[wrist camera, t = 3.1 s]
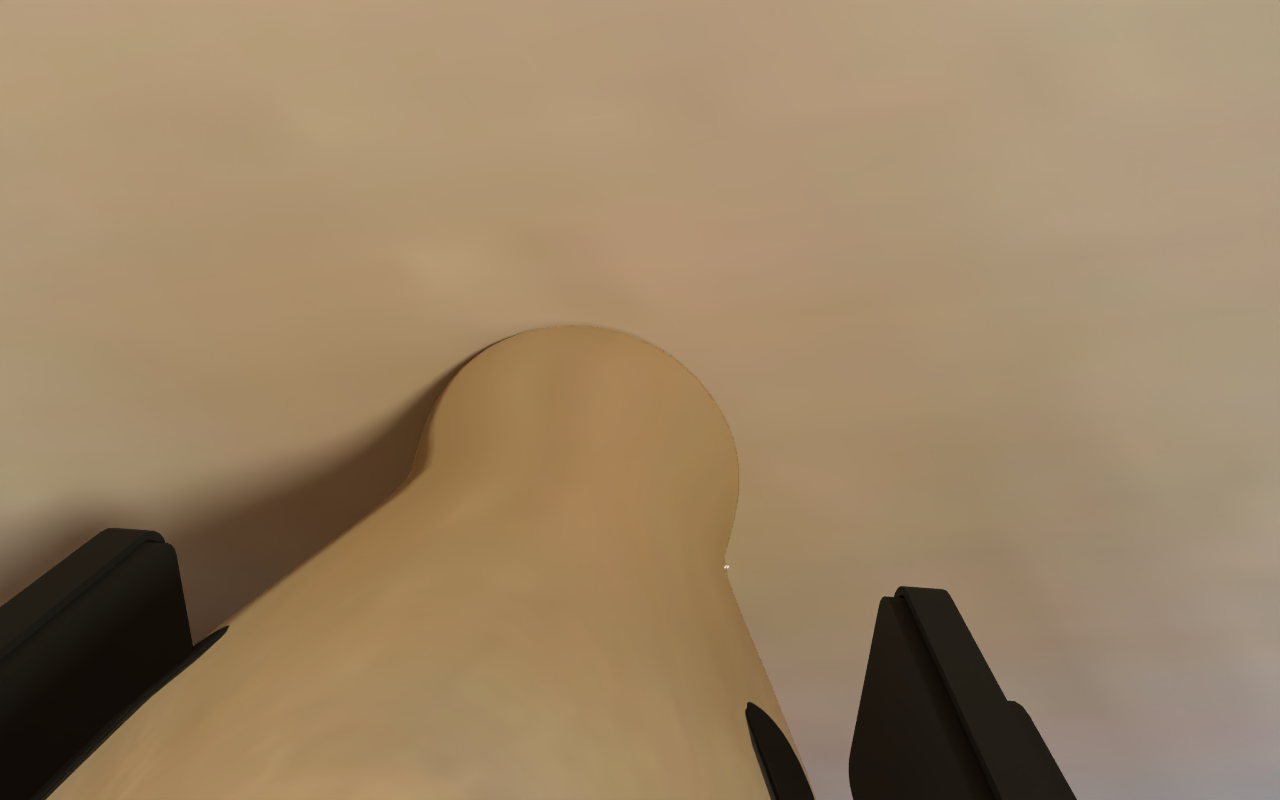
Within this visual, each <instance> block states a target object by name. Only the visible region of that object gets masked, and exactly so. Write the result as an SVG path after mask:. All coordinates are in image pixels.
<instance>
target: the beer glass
mask: <svg viewBox="0 0 1280 800" xmlns="http://www.w3.org/2000/svg"><path fill="white" fill-rule="evenodd" d="M738 496H739V463H738V456H737V450H736V446H735V442H734V438H733V435H732V433H731V430H730V427H729V425H728V423H727V421H726V419H725V417H724V415H723V413H722V411H721V410H720V408H719V406H718V405H717V403H716V402H715V400H714V399H713V397H712V396H711V394H710V393H709V392H708V390H707V389H706V388H705V387H704V385H703V384H702V383H701V382H700V381H699V380H698V379H697V377H696V376H695V375H694V374H692V373H691V372H690V371H689V370H688V369H687V368H686V367H685V366H684V365H683V364H681V363H680V362H679V361H678V360H676V359H675V358H674V357H672V356H671V355H669V354H668V353H666V352H665V351H663V350H661V349H660V348H658V347H656V346H654V345H652V344H650V343H648V342H646V341H644V340H641V339H639V338H637V337H634V336H631V335H628V334H625V333H622V332H618V331H614V330H610V329H605V328H599V327H592V326H575V325H570V326H554V327H546V328H541V329H536V330H532V331H528V332H525V333H521V334H518V335H515V336H513V337H510V338H507V339H505V340H503V341H501V342H499V343H497V344H495V345H493V346H491V347H489V348H488V349H486V350H484V351H483V352H481V353H480V354H478V355H477V356H476V357H474V358H473V359H472V360H470V361H469V362H468V363H467V364H466V365H465V366H463V367H462V368H461V369H460V370H459V371H458V372H457V373H456V374H455V376H454V377H453V378H452V379H451V380H450V381H449V383H448V384H447V385H446V387H445V388H444V389H443V391H442V392H441V394H440V395H439V397H438V399H437V400H436V402H435V403H434V405H433V407H432V409H431V411H430V413H429V415H428V418H427V421H426V423H425V426H424V428H423V431H422V434H421V437H420V441H419V444H418V447H417V451H416V454H415V458H414V461H413V465H412V468H411V470H410V472H409V475H408V476H407V478H406V479H405V481H404V482H403V483H402V484H401V485H400V487H399V488H398V489H397V490H396V491H395V492H394V493H393V494H391V495H390V496H389V497H388V498H387V499H385V500H384V501H383V502H382V503H380V504H379V505H378V506H377V507H375V508H374V509H373V510H372V511H370V512H369V513H368V514H367V515H365V516H364V517H363V518H361V519H360V520H359V521H357V522H356V523H355V524H353V525H352V526H350V527H349V528H348V529H346V530H345V531H344V532H342V533H341V534H340V535H338V536H337V537H335V538H334V539H333V540H331V541H330V542H329V543H327V544H326V545H325V546H323V547H322V548H321V549H319V550H318V551H316V552H315V553H314V554H312V555H311V556H310V557H308V558H307V559H306V560H304V561H303V562H302V563H300V564H299V565H298V566H296V567H295V568H294V569H292V570H291V571H290V572H289V573H287V574H286V575H285V576H283V577H282V578H281V579H279V580H278V581H277V582H275V583H274V584H273V585H271V586H270V587H269V588H267V589H266V590H265V591H264V592H262V593H261V594H260V595H258V596H257V597H256V598H254V599H253V600H252V601H250V602H249V603H248V604H246V605H245V606H244V607H242V608H241V609H240V610H239V611H237V612H236V613H235V614H233V615H232V616H231V617H229V618H228V619H227V620H225V621H224V622H223V623H221V624H220V625H219V626H218V627H216V628H215V629H214V630H213V631H211V632H210V633H209V634H208V635H207V636H205V637H204V638H203V639H202V640H201V641H200V642H198V643H197V644H196V645H195V646H194V647H193V648H191V649H190V650H189V651H188V652H187V653H186V654H184V655H183V656H182V657H181V658H180V659H178V660H177V661H176V662H175V663H174V664H173V665H171V666H170V667H169V668H168V669H167V670H166V671H164V672H163V673H162V674H161V675H160V676H159V677H157V678H156V679H155V680H154V681H153V682H151V683H150V684H149V685H148V686H147V687H146V688H144V689H143V690H142V691H141V692H140V693H139V694H137V695H136V696H135V697H134V698H133V699H132V700H130V701H129V702H128V703H127V704H126V705H125V706H123V707H122V708H121V709H120V710H119V711H117V712H116V713H115V714H114V715H113V716H112V717H110V718H109V719H108V720H107V721H106V722H105V723H103V724H102V725H101V726H100V727H99V728H98V729H96V730H95V731H94V732H93V733H92V734H90V735H89V736H88V737H87V738H86V739H85V740H83V741H82V742H81V743H80V744H79V745H78V746H77V747H76V748H75V749H74V750H72V751H71V752H70V753H69V754H68V755H67V756H66V757H65V758H64V759H63V760H62V761H61V762H60V763H59V764H58V765H57V766H56V767H55V768H54V769H53V770H52V771H51V772H50V773H49V774H48V775H47V776H46V777H45V778H44V779H43V780H42V781H41V782H40V783H39V784H38V785H37V786H36V787H35V788H34V789H33V790H32V791H31V792H30V793H29V794H28V795H27V796H26V797H25V798H24V799H23V800H816V797H815V794H814V791H813V788H812V786H811V783H810V780H809V777H808V774H807V772H806V769H805V767H804V764H803V762H802V759H801V757H800V754H799V752H798V750H797V747H796V745H795V742H794V740H793V737H792V735H791V732H790V730H789V727H788V725H787V722H786V720H785V717H784V715H783V712H782V710H781V707H780V705H779V702H778V700H777V697H776V695H775V692H774V690H773V687H772V685H771V683H770V680H769V678H768V675H767V673H766V671H765V668H764V666H763V663H762V661H761V659H760V656H759V654H758V652H757V649H756V647H755V645H754V642H753V640H752V638H751V635H750V633H749V630H748V628H747V626H746V623H745V621H744V619H743V616H742V614H741V611H740V609H739V606H738V603H737V601H736V598H735V595H734V592H733V590H732V587H731V584H730V582H729V579H728V574H727V569H728V568H729V565H726V564H725V554H726V550H727V547H728V543H729V539H730V535H731V531H732V528H733V524H734V519H735V514H736V509H737V504H738ZM726 568H727V569H726Z"/></svg>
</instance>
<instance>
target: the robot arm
mask: <svg viewBox="0 0 1280 800" xmlns="http://www.w3.org/2000/svg"><path fill="white" fill-rule="evenodd" d="M191 648H193V644H192V639H191V633H190V628H189V622H188V617H187V611H186V605H185V600H184V594H183V589H182V583H181V578H180V572H179V566H178V561H177V555H176V552H175V549H174V548H173V546H172V545H170V544H168V543H165V541H164V538H163V537H162V536H161V535H160V533H158V532H155V531H148V530H135V529H121V528H108V529H106V530H104V531H102V532H100V533H99V534H97V535H96V536H95V537H93V538H92V539H91V540H89V541H88V542H87V543H85V544H84V545H83V546H81V547H80V548H79V549H77V550H76V551H75V552H73V553H72V554H71V555H69V556H68V557H67V558H65V559H64V560H63V561H61V562H60V563H59V564H57V565H56V566H55V567H53V568H52V569H51V570H49V571H48V572H47V573H45V574H44V575H43V576H41V577H40V578H39V579H37V580H36V581H35V582H33V583H32V584H31V585H29V586H28V587H27V588H25V589H24V590H23V591H21V592H20V593H19V594H17V595H16V596H15V597H13V598H12V599H11V600H9V601H8V602H7V603H5V604H4V605H3V606H1V607H0V800H23V799H24V798H25V797H26V796H27V795H28V794H29V793H30V792H31V791H32V790H33V789H34V788H35V787H36V786H37V785H38V784H39V783H40V782H41V781H42V780H43V779H44V778H45V777H46V776H47V775H48V774H49V773H50V772H51V771H52V770H53V769H54V768H55V767H56V766H57V765H58V764H59V763H60V762H61V761H62V760H63V759H64V758H65V757H66V756H67V755H68V754H69V753H70V752H71V751H72V750H74V749H75V748H76V747H77V746H78V745H79V744H80V743H81V742H82V741H83V740H85V739H86V738H87V737H88V736H89V735H90V734H92V733H93V732H94V731H95V730H96V729H98V728H99V727H100V726H101V725H102V724H103V723H105V722H106V721H107V720H108V719H109V718H110V717H112V716H113V715H114V714H115V713H116V712H117V711H119V710H120V709H121V708H122V707H123V706H125V705H126V704H127V703H128V702H129V701H130V700H132V699H133V698H134V697H135V696H136V695H137V694H139V693H140V692H141V691H142V690H143V689H144V688H146V687H147V686H148V685H149V684H150V683H151V682H153V681H154V680H155V679H156V678H157V677H159V676H160V675H161V674H162V673H163V672H164V671H166V670H167V669H168V668H169V667H170V666H171V665H173V664H174V663H175V662H176V661H177V660H178V659H180V658H181V657H182V656H183V655H184V654H186V653H187V652H188V651H189V650H190V649H191ZM849 781H850V787H851V792H852V796H853V800H1077V799H1076V797H1075V795H1074V794H1073V792H1072V790H1071V788H1070V787H1069V785H1068V783H1067V781H1066V779H1065V778H1064V776H1063V774H1062V772H1061V771H1060V769H1059V767H1058V765H1057V764H1056V762H1055V760H1054V758H1053V756H1052V755H1051V753H1050V751H1049V749H1048V748H1047V746H1046V744H1045V742H1044V741H1043V739H1042V737H1041V735H1040V733H1039V732H1038V730H1037V728H1036V726H1035V725H1034V723H1033V721H1032V719H1031V718H1030V716H1029V714H1028V713H1027V712H1026V710H1025V709H1024V708H1023V706H1021V705H1020V704H1018V703H1016V702H1015V701H1007V699H1006V698H1005V696H1004V694H1003V692H1002V690H1001V688H1000V686H999V685H998V683H997V681H996V679H995V677H994V675H993V674H992V672H991V670H990V668H989V666H988V664H987V662H986V661H985V659H984V657H983V655H982V653H981V651H980V650H979V648H978V646H977V644H976V642H975V640H974V639H973V637H972V635H971V633H970V631H969V629H968V627H967V626H966V624H965V622H964V620H963V618H962V616H961V615H960V613H959V611H958V609H957V607H956V605H955V603H954V602H953V600H952V598H951V596H950V595H949V593H948V592H947V591H946V590H943V589H932V588H919V587H905V586H900V587H899V588H898V589H897V590H896V592H895V595H894V597H885V596H884V597H883V598H882V599H881V601H880V604H879V608H878V614H877V619H876V624H875V629H874V634H873V639H872V644H871V649H870V654H869V660H868V665H867V670H866V675H865V680H864V685H863V690H862V695H861V700H860V706H859V711H858V716H857V721H856V726H855V731H854V736H853V741H852V746H851V752H850V758H849Z"/></svg>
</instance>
